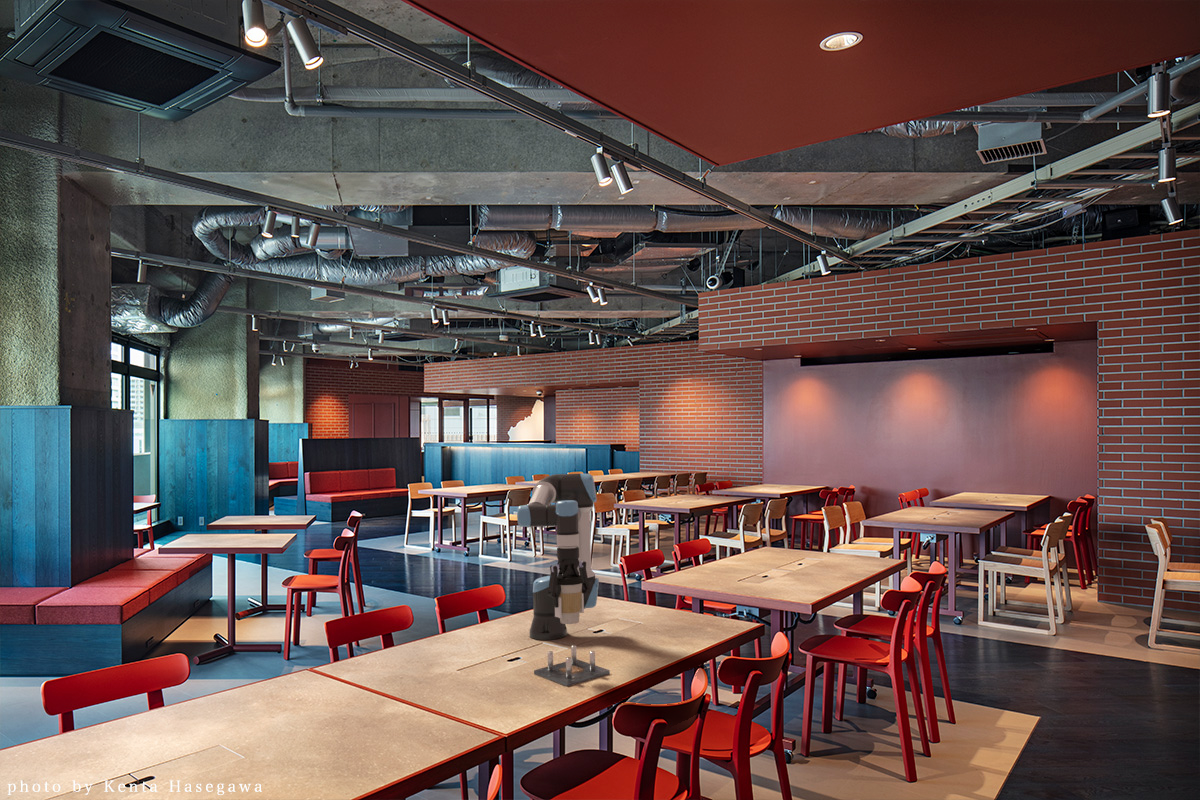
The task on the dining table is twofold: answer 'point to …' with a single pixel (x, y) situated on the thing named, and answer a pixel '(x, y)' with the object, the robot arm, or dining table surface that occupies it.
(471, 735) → the dining table surface
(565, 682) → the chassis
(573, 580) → the coffee cup
